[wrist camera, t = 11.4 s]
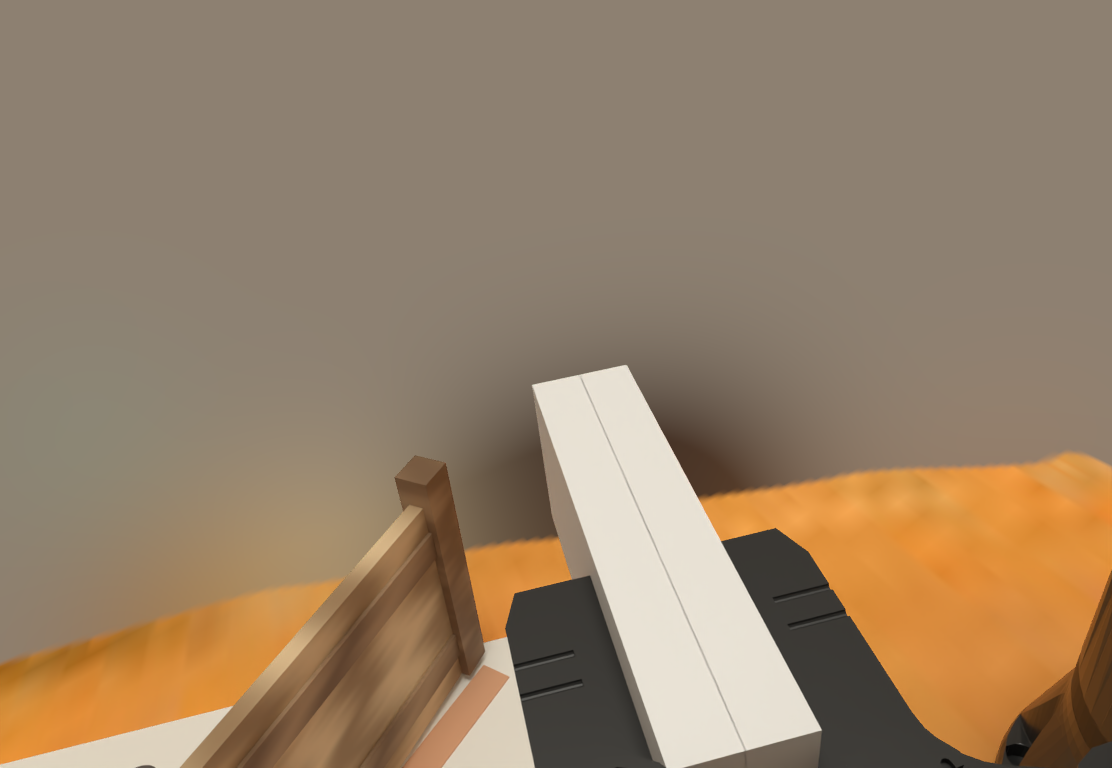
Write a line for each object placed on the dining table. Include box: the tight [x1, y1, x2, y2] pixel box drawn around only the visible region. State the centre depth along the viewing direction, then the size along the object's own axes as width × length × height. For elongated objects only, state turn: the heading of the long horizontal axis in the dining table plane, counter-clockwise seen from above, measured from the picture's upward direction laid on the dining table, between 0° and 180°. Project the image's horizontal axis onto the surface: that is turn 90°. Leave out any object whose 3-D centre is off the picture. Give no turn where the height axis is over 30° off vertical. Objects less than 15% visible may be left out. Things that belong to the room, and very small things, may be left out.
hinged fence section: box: [136, 456, 485, 768], centre depth 40 cm, size 19×2×14 cm, turn 154°
